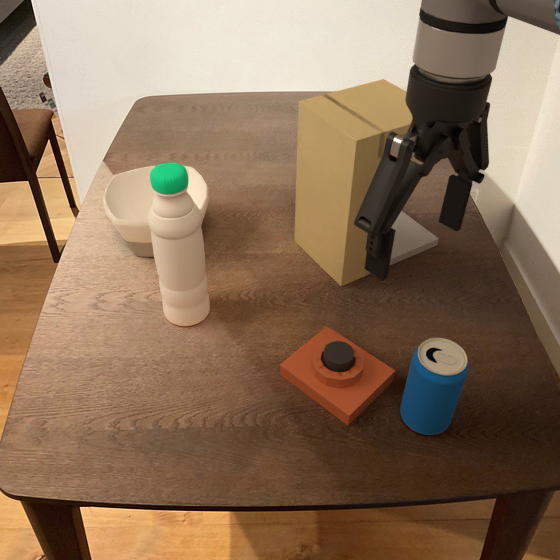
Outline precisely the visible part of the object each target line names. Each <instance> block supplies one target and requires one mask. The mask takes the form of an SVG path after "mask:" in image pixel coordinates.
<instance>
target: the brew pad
mask: <svg viewBox="0 0 560 560" xmlns="http://www.w3.org/2000/svg"><path fill="white" fill-rule="evenodd" d="M333 341H342V342H346V343H348V344H349V345H350V346H351V347H352V348H353V350H354V360H353V365H352V367H351V368H350V369H349V370H347V371H345V372H334V371H331V370H329V369H328V368H327V367H326V366H325V365H324V362H323V355H324V348H325V347H326V345H327V344H329V343H330V342H333ZM395 374H396V370H395V369H394V368H392V367H391V366H389V365H387V364H386V363H384V362H383V361H381V360H380V359H378V358H377V357H375V356H374V355H372V354H371V353H369V352H368V351H366V350H365V349H363V348H362V347H360V346H358V345H356V344H355V343H354V342H352V341H351V340H349V339H347V337H344V336H343V335H342V334H340V333H338V332H337V331H335V330H334V329H332V328H330V327H329V326H325V327H324V328H323V329H321V330H320V331H319V332H318V333H317V334H316V335H314V336H313V337H312V338H310V339H309V340H308V341H306V342H305V343H304V344H303V345H302V346H301V347H299V348H298V349H297V350H295V352H293V353H291V354H290V355H289V356H288V357H287V358H286V359H285V360H283V361H282V362H281V363H279V376H281V377H282V378H283V379H285V380H286V381H287V382H289V384H292V385H293V386H294V387H295V388H297V389H298V390H300V391H301V392H302V393H303V394H304V395H306V396H307V397H309V398H310V399H311V400H312V401H314V402H315V403H316V404H318V405H320V406H321V408H323V409H325V410H326V411H327V412H329V413H330V414H331V415H333V416H334V417H335V418H336V419H337V420H339V421H341V422H342V423H343V424H345V426H349V425H350V424H352V423H353V422H354V421H355V419H356V418H357V417H358V416H360V415H361V414H362V413H363V412H364V411H365V410H366V408H368V406H370V405H371V404H372V403H373V402H374V400H376V399H377V398H378V397H379V396H380V395H381V394H382V393H383V392H384V391H385V390H386V389H387V388H388V387H389V386H390V385H391V384H392V383H393V382H394V380H395Z"/></svg>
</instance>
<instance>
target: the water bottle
mask: <svg viewBox="0 0 560 560" xmlns="http://www.w3.org/2000/svg"><path fill="white" fill-rule="evenodd" d="M155 166H156V167H154V168H153V169H152V170H151V173H150V182H151V186H152V188H153V191H154V192H155V193H156V196H155V198H154V200H153V203H152V206H151V209H150V211H149V214H148V224H149V227H150V229H151V237H152V246H153V253H154V257H153V258H154V262H155V268H156V271H157V276H158V280H159V281H158V285H159V293H160V296H161V300H162V301H161V302H162V310H163V315H164V317H165V319H166V320H167V321H168V322H169V323H171V324H173V325H175V326H178V327H191V326H195V325H197V324H199V323H202V322H203V321H204V320H205V319H206V318H207V317H208V315H209V314H210V311H211V301H210V295H209V292H208V291H209V286H208V285H209V284H208V281H209V280H208V277H207V273H206V252H205V244H204V243H205V242H204V235H203V229H202V225H201V213H200V210H199V208H198V207H197V205H196V204H195V202H194V201H193V200H192V198H191V196H190V195H189V194H188V193H187V192H186V190H187V189H188V173H187V170H186V168H185V167H184V166H185V165H183V164H181V163H178V162H163V163H160V164H157V165H155Z"/></svg>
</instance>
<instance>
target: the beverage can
mask: <svg viewBox="0 0 560 560" xmlns="http://www.w3.org/2000/svg"><path fill="white" fill-rule="evenodd" d="M469 370H470V366H469V361H468V355H467V353H466V351H465V350H464V348H463V347H461V345H460V344H459V343H457V342H455V341H453V340H450V339H448V338H443V337H431V338H429V339H426V340H424V341H422V342H421V343H420V345H419V346H418V347H416V349H415V350H414V351H413V355H412V357H411V362H410V366H409V369H408V373H407V378H406V382H405V385H404V390H403V394H402V398H401V402H400V407H399V413H400V416H401V419H402V421H403V422H404V423H405V425H406V426H407V427H408V428H409V429H411V430H412V431H414V432H416V433H418V434H421V435H425V436H435V435H440V434H442V433H444V432H445V431H446V430H447V429H448V428H449V427H450V425H451V423H452V420H453V416H454V414H455V411H456V410H457V409H456V408H457V405H458V402H459V400H460V397H461V394H462V392H463V388H464V385H465V382H466V380H467V377H468V375H469V372H470V371H469Z"/></svg>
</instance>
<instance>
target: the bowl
mask: <svg viewBox="0 0 560 560" xmlns="http://www.w3.org/2000/svg"><path fill="white" fill-rule="evenodd" d="M156 166H157V165H150V166H149V165H148V166H145V167H138V168H133V169H130V170H126V171H123V172H120V173H116V174H114V175H113V176H112V177H111V179H110V180H109V182H108V183H107V185H106V186H105V190H104V193H103V196H102V206H103V208H104V212H105V214H106V216H107V217H108V219H109V220H110V222H111V223H112V224H113V226H114V227H115V229H116V230H117V231H118V234H119V235H120V236H121V237H122V238H123V240H124V241H125V243H126V245H128V247H129V249H130V250H131V251H132V253H133V254H134V255H135V257H145V258H154V253H153V246H152V237H151V229H150V227H149V224H148V214H149V211H150V209H151V206H152V203H153V200H154V198H155V196H156V193H155V192H154V191H153V188H152V186H151V182H150V173H151V170H152V169H153V168H154V167H156ZM183 166H184V167H185V168H186V170H187V173H188V189H187V190H186V192H187V193H188V194H189V195H190V196H191V198H192V200H193V201H194V202H195V204H196V205H197V207H198V208H199V210H200V213H201V226H202V225H203V223H204V219H205V215H206V214H207V213H206V212H207V209H208V206H209V202H210V188H209V185H208V184H207V182H206V180H205V178H204V176H203V175H201V174H200V172H198V171H197V170H196V169H195V168H194V167H193V166H189V165H183Z"/></svg>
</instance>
